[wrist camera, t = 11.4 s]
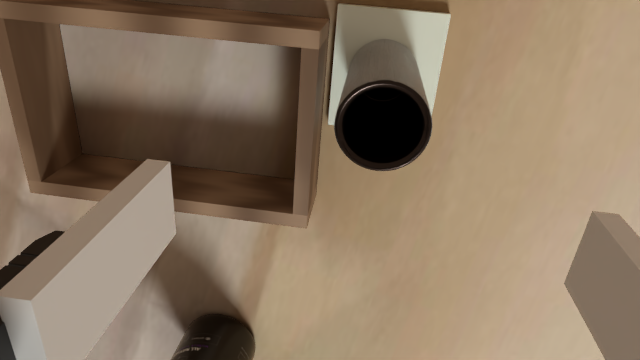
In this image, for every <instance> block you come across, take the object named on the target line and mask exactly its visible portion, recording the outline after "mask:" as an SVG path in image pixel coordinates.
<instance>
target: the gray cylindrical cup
mask: <svg viewBox="0 0 640 360" xmlns="http://www.w3.org/2000/svg"><path fill="white" fill-rule="evenodd" d="M334 130H335V136H336V139H337V142H338V144H339V146H340V148H341V150H342V151H343V152H344V154H345V155H346V156H347V157H348V158H349V159H350V160H352V161H353V162H354V163H356V164H357V165H359V166H361V167H364V168H366V169H370V170H375V171H390V170H395V169H399V168H401V167H404V166H406V165H408V164H409V163H411V162H412V161H414V160H415V159H416V158H417V157H418V156H419V155H420V154H421V153H422V152H423V151H424V149H425V148H426V146H427V144H428V142H429V140H430V136H431V132H432V116H431V112H430V108H429V104H428V101H427V97H426V94H425V90H424V86H423V83H422V79H421V76H420V72H419V68H418V65H417V62H416V59H415V57H414V56H413V54H412V53H411V51H410V50H409V49H408V48H407V47H406V46H404V45H403V44H401V43H400V42H397V41H394V40H390V39H378V40H374V41H371V42H369V43H367V44H365V45H364V46H363V47H361V48H360V49H359V50H358V51H357V53H356V54H355V56H354V57H353V59H352V61H351V63H350V66H349V70H348V73H347V77H346V80H345V84H344V87H343V91H342V94H341V98H340V101H339V105H338V108H337V112H336V116H335V122H334Z"/></svg>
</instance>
